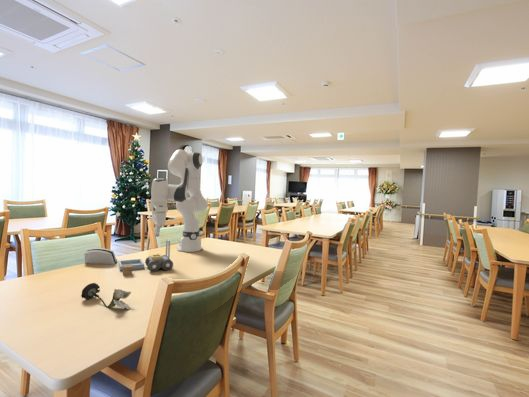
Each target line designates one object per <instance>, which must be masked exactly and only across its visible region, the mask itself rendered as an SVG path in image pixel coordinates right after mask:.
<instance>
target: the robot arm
mask: <svg viewBox="0 0 529 397" xmlns="http://www.w3.org/2000/svg"><path fill="white" fill-rule="evenodd" d="M167 163H168V164H167V169H168V171H169V172H170V173H171V174H172V175H173V176H176V177H178V178H180V183H179V184H172V183H171V184H170V183H169V182H168V179H167V178H164V177H156V178H153V179H152V182H151V188H150V195H151V199H150V204H149V210H150V211H151V212H152V213H151V221H152V222H153V223H154V225H155V224H156V226H157V227H156V232H159V233H160V231H161V230H160V229H161V227H164V226H165V224H166V219H167V212H168V211H169V210H168V209H169V208H168V201H172V202H176V203H175V207H176V211H178V212H179V213H180V215H181V216H182V221H183V230H182V236H181V238H180V239H179V240H177V245H176V249H177V251H178V252H186V253H187V252H188V253H189V252H190V253H193V252H194V253H195V252H200V251H201V250H203V249H204V247H203V246H202V238H201V237H200V235H201V234H200V220H199V219H198V218H197V217H196V216H195V213H201V212H203V211H206V210H207V209H208V205H209V203H208V201H207V199H206V198H205V197H204V195H203V194H202V191H201V185H200V183H201V182H200V171H199V170H200V168H201V167H202V165H203V156H202V154H201V153H199V152H187V151H186V150H184V149H180V148H179V149H177V150H175V151H174V152H173V153H172V155H171V156H170V158H169V160H168V162H167ZM188 195H189V197H188Z"/></svg>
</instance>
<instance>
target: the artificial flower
mask: <svg viewBox="0 0 529 397" xmlns="http://www.w3.org/2000/svg"><path fill="white" fill-rule="evenodd" d="M100 287H101V286H99V284H98V283H96V282H92V283H88V284H87V285H86V286H84V288H83V289H82V290H81V295H80V297H81V298H82V299H85V300H89V299H92V298H94V297H95V298H98V299H99V300H100V301H101V303H103V306H104V307H105V308H106V309H107V308H115V306H117V307H119V308H121V309H123V310H124V309H127V310H129V309H130V308H131V309H132V307H131V306H130V305H129V304H127V303H126V302H124V301H122V300H123V299H125V300H126V299H127V298H128V297H129V296H130V295H131V293H132V291H126V290H122V289H120V288H119V289H116V288H114V292H113V294H112V299H111V300H110V303H109V304H108V305H106V303H105V301H104V299H103V298H101V297H100V295H99V294H98V293H100V292H101V290H100V289H101V288H100ZM120 299H122V300H120ZM131 309H130V310H131Z"/></svg>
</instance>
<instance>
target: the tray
mask: <svg viewBox="0 0 529 397" xmlns="http://www.w3.org/2000/svg"><path fill="white" fill-rule="evenodd" d="M117 262H118V263H117V264H118V269H119V272H123V265H124V264H131V265H132V271H133V270H134V271H135V270H142V269H143V270H144V269H145V264H144V263H145V262H144V261H143V259H142V258H137V259H124V260H123V259H121V260H118V261H117Z"/></svg>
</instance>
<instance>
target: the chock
mask: <svg viewBox="0 0 529 397" xmlns="http://www.w3.org/2000/svg"><path fill="white" fill-rule="evenodd" d="M121 272H122V276H124V277H125V276H133V270H132V265H131V264H124V265H123V271H121Z"/></svg>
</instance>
